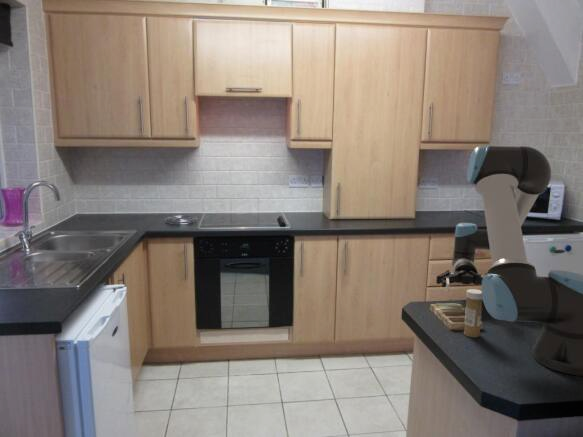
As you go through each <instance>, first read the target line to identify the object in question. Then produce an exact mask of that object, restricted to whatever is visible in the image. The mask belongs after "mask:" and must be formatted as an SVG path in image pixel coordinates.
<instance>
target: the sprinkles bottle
mask: <svg viewBox="0 0 583 437" xmlns="http://www.w3.org/2000/svg"><path fill="white" fill-rule="evenodd" d="M465 296H466V302H465V309H466V312H465V329H464V330H463V334H464V335H465V336H467V337H470V338H479V337H480V336H481V329H480V325H481V322H482V312H483V310H482V306H483V298H482V290H480V289H476V288H469V289H467V290H466V294H465Z"/></svg>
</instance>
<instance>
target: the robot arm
mask: <svg viewBox="0 0 583 437" xmlns="http://www.w3.org/2000/svg"><path fill="white" fill-rule="evenodd" d="M467 165H468V166H467V175H466V181H467V183H468V184H469V185H471V186H473V185H474V188H475V191H476V193H478V194H479V195H481V197H482V203H483V209H484V218H485V225H486V229H484V228H483V229H481V228H478V225H477V224H475V223H473V222H459V223H457V224H456V226H455V231H454V246H453V256H452V258H451V259H452V260H451V265H452V267H453V272H452V271H450V270H448V269H447V270H445V272H443V273H440V274H439V275H436V281H435V282H436V284H437V285H440V284H441V287H442V288H445V290H446V293H450V284H455V283H456V284H463V285H471V284H473V285H476V286H478V285H480V286H481V291H482V298H483V300H482V303H483V305H484V307H485V309H486V311H487V313H488V314H489V315H490V316H491V317H492V318H493V319H495V320H499V321H507V322H510V323H511V322H524V323H525V322H526V323H538V324H539V323H541V324H542V323H543V326H542V329H541V331H540V333H539V335H538V337H537V339H536V341H535V343H534V344H533V347H532V357H533V358H534V360H535V361H536V362H538V364H541V365H542V366H544V367H546V368H548V369H551V370H553V371H556V372H560V373H562V374H567V375H572V376H581V377H583V274H580V273H575V272H572V271H567V270H561V269H552V270H550V271H549V272H548V274H547V276H538V275H537V269H536V267H535V265H533V264H531V263H530V262H528V258H527V251H526V247H525V243H524V236H523V231H522V226H523V224H524V222H525V220H526V218H527V217H528V214H529V213H530V211H531V210H532V207H533V206H534V204H535V202H536V201H537V198H538V197H539V195H541V194H543V193H545V192H546V190H547V188H548V187H549V184H550V181H551V178H552V168H551V165H550V162H549V160H548V159H547V157H546V156H545V155H544V153H542V152H541V151H540V150H538V149H537V148H534V147H531V146H526V145H523V146H522V145H521V146H517V145H516V146H512V145H511V146H500V145H499V146H496V145H495V146H494V145H491V146H490V145H486V146H485V145H483V146H476V147H475V148H474V149H473V150H472V152H471V155H470V158H469V161H468V164H467ZM476 250H485V251H486V250H489V252H490V258H491V266H490V267H489V268H488V269H487V273H484V274H483V275H481V274H479V272H478V270H477V267H476V264H475V260H476V259H475V258H476Z"/></svg>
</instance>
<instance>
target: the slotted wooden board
mask: <svg viewBox="0 0 583 437" xmlns="http://www.w3.org/2000/svg"><path fill="white" fill-rule="evenodd" d="M430 311H431V312H432V313H433V314H434V315H435V316H436V317H437V318H438V319H439V320H440V321H441V322H442V323H443V324H444V325H445V326H446V327H447V329H449V330H450V331H454V330H455V331H457V330H459V331H460V330H462V331H464V329H465V312H466V307H464V306H463V305H462V304H460V303H455V302H454V303H452V302H451V303H450V302H449V303H448V302H447V303H444V302H443V303H441V302H439V303H438V302H437V303H431V304H430ZM483 324H484V323H483V322H482V321H481V325H480V330H483V328H484V325H483Z"/></svg>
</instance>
